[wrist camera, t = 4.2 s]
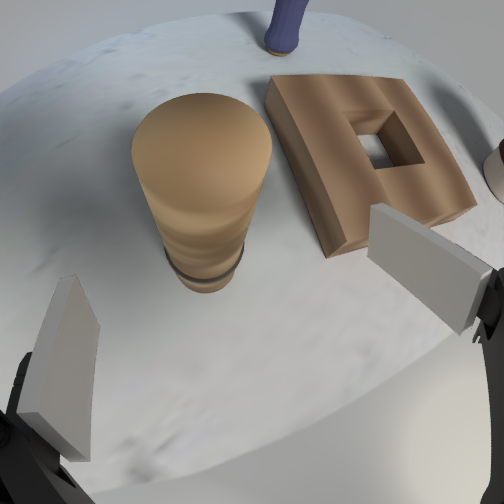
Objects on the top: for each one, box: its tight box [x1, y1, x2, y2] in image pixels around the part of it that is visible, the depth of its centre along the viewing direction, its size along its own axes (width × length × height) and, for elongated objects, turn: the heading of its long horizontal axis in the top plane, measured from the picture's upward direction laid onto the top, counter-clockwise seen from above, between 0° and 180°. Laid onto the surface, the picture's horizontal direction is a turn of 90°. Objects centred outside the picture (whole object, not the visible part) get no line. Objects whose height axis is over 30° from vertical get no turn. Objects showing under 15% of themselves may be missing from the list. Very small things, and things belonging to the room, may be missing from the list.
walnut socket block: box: [264, 75, 478, 259], centre depth 25 cm, size 16×16×4 cm
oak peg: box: [131, 93, 272, 293], centre depth 16 cm, size 5×5×14 cm
